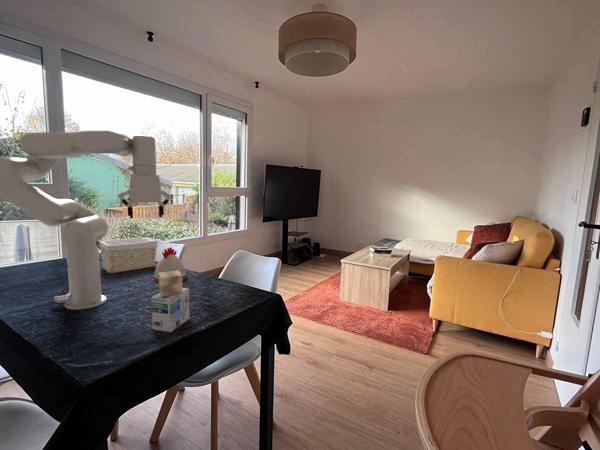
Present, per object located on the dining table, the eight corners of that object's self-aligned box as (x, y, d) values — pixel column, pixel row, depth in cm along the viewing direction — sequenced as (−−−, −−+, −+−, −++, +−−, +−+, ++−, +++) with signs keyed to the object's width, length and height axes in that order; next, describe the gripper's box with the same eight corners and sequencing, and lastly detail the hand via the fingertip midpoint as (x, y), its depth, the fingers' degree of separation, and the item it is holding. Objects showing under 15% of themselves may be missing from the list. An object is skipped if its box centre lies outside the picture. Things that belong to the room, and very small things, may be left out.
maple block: (161, 296, 92) (161, 277, 91) (159, 290, 97) (158, 272, 96) (182, 293, 95) (182, 275, 94) (178, 287, 100) (178, 270, 99)
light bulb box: (170, 333, 92) (169, 299, 90) (151, 330, 93) (150, 296, 92) (190, 318, 102) (190, 287, 101) (172, 315, 103) (172, 285, 102)
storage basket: (148, 261, 173) (147, 236, 171) (159, 267, 162) (158, 240, 160) (99, 268, 156) (98, 240, 154) (107, 275, 145) (106, 245, 143)
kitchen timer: (147, 280, 140) (146, 248, 138) (169, 272, 152) (169, 243, 150) (170, 284, 135) (170, 252, 133) (192, 276, 147) (191, 246, 146)
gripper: (117, 169, 101) (119, 219, 103) (172, 171, 111) (173, 217, 113) (116, 169, 107) (118, 217, 110) (168, 172, 117) (169, 215, 119)
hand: (146, 217), depth 111 cm, fingers open, 9 cm apart
